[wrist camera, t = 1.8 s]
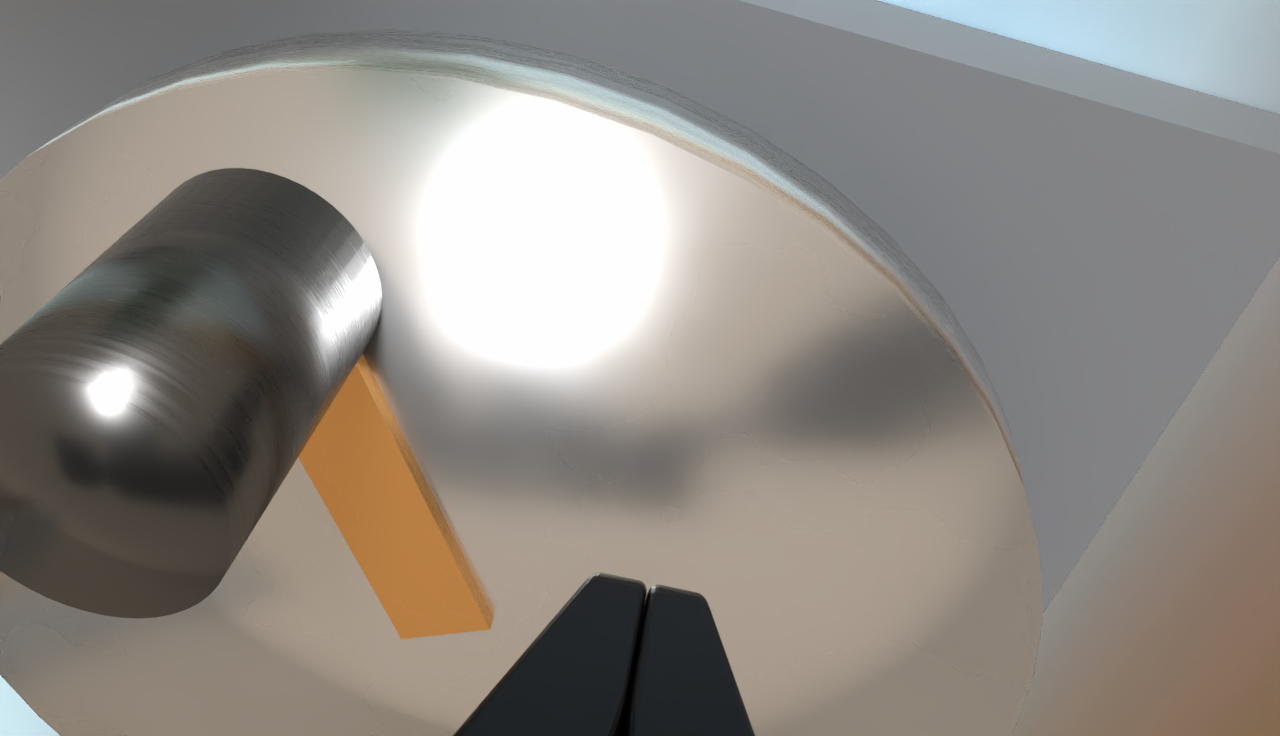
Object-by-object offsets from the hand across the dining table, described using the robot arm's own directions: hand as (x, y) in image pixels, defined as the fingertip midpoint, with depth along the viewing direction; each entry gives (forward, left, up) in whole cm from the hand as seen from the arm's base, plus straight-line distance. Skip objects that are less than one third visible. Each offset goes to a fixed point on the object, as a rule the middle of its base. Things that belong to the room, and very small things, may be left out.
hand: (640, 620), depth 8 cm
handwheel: (+2, +5, -5) cm, 7 cm away
